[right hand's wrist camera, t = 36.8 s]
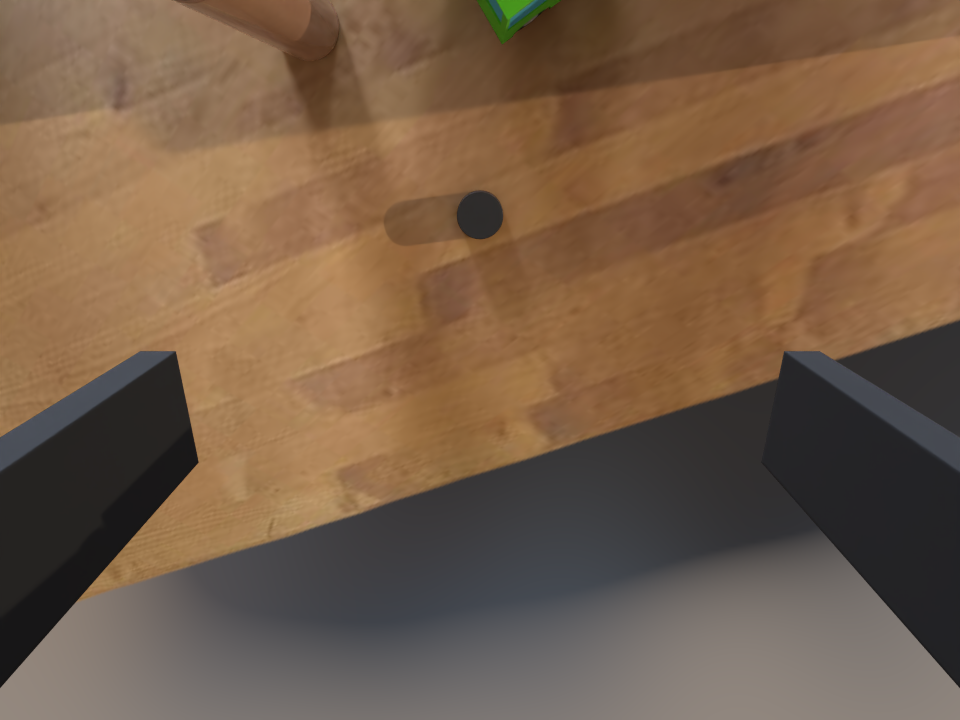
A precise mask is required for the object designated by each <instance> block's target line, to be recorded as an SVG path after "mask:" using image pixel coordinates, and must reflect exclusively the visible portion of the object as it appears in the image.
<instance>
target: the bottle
mask: <svg viewBox="0 0 960 720" xmlns="http://www.w3.org/2000/svg"><path fill="white" fill-rule="evenodd" d="M173 1H175V2H177V3H179V4H181V5H183V6H186V7H188V8H190V9H192V10H194V11H196V12H199V13H201V14H203V15H205V16H207V17H209V18H212V19H214V20H216V21H218V22H220V23H222V24H225V25H227V26H229V27H231V28H233V29H235V30H238V31H240V32H242V33H244V34H246V35H248V36H251V37H253V38H255V39H257V40H259V41H261V42H264V43H266V44H268V45H270V46H272V47H274V48H277V49H279V50H281V51H283V52H285V53H287V54H290V55H292V56H294V57H296V58H298V59H301V60H305V61H315V60H319V59H321V58H323V57H325V56H326V55H328V54H329V53H330V52H331V50H332V49H333V48H334V46H335V44H336V42H337V39H338V34H339V21H338V17H337V13H336V11H335V8H334V7H333V5H332V3H331V2H330V0H173Z"/></svg>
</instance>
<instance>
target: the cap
mask: <svg viewBox="0 0 960 720" xmlns="http://www.w3.org/2000/svg"><path fill="white" fill-rule="evenodd" d="M457 220H458V224H459V226H460V228H461V229H462V231H463V232H464V233H465V234H466V235H468V236H470V237H472V238H475V239H485V238H488V237H491V236H492V235H494V234H495V233H496V232H497V231H498V230H499V228H500V226H501V224H502V221H503V210H502V207H501V204H500V202H499V200H498V199H497V198H496V197H495V196H494V195H493V194H491V193H489V192H487V191H481V190H479V191H473V192H471V193H469V194H467V195H466V196H465V197H464V198H463V199H462V201H461V202H460V204H459V207H458V211H457Z"/></svg>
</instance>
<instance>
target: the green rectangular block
mask: <svg viewBox="0 0 960 720" xmlns="http://www.w3.org/2000/svg"><path fill="white" fill-rule="evenodd" d="M559 1H561V0H477V2H478V4H479V5H480V7H481V9H482V10H483V12H484V14H485V16H486V17H487V19H488V21H489V23H490V24H491V26H492V28H493V29H494V31H495V33H496V35H497V36H498V38H499V40H500V42H501V43H502V44H503V43H505V42H506V41H507V40H509V39H510V38H511V37H513V35H514V34H515V32H517V31H519V30H520V29H522V28H523V27H525V26H526V25H527V24H529V23H530V22H531V21H533V20H534V19H535V18H536V17H538V16H539V15H540V14H541V13H542V12H543V11H544V10H545V9H546V8H548V7H549V9H550V8H551V7H553V6H554V5H555V4H557V3H558V2H559Z"/></svg>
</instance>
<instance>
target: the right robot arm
mask: <svg viewBox="0 0 960 720" xmlns="http://www.w3.org/2000/svg"><path fill="white" fill-rule="evenodd" d="M197 464H198V457H197V452H196V447H195V442H194V438H193V433H192V428H191V423H190V418H189V413H188V408H187V404H186V399H185V394H184V389H183V384H182V379H181V374H180V369H179V365H178V360H177V355H176V351H140V352H138V353H137V354H135V355H134V356H132V357H130V358H129V359H127V360H125V361H124V362H122V363H121V364H119V365H117V366H116V367H114V368H112V369H111V370H109V371H108V372H106V373H104V374H103V375H101V376H99V377H98V378H96V379H95V380H93V381H91V382H90V383H88V384H86V385H85V386H83V387H82V388H80V389H78V390H77V391H75V392H73V393H72V394H70V395H69V396H67V397H65V398H64V399H62V400H60V401H59V402H57V403H56V404H54V405H52V406H51V407H49V408H47V409H46V410H44V411H43V412H41V413H39V414H38V415H36V416H34V417H33V418H31V419H30V420H28V421H26V422H25V423H23V424H21V425H20V426H18V427H16V428H15V429H13V430H12V431H10V432H8V433H7V434H5V435H3V436H2V437H0V688H1V686H2V685H3V684H4V683H5V682H6V681H7V680H8V678H9V677H10V676H11V675H12V674H13V673H14V672H15V671H16V669H17V668H18V667H19V666H20V665H21V664H22V663H23V661H24V660H25V659H26V658H27V657H28V656H29V655H30V653H31V652H32V651H33V650H34V649H35V648H36V647H37V645H38V644H39V643H40V642H41V641H42V640H43V639H44V638H45V636H46V635H47V634H48V633H49V632H50V631H51V630H52V628H53V627H54V626H55V625H56V624H57V623H58V622H59V620H60V619H61V618H62V617H63V616H64V615H65V614H66V613H67V611H68V610H69V609H70V608H71V607H72V606H73V605H74V603H75V602H76V601H77V600H78V599H79V598H80V597H81V595H82V594H83V593H84V592H85V591H86V590H87V589H88V588H89V586H90V585H91V584H92V583H93V582H94V581H95V580H96V578H97V577H98V576H99V575H100V574H101V573H102V572H103V570H104V569H105V568H106V567H107V566H108V565H109V564H110V563H111V561H112V560H113V559H114V558H115V557H116V556H117V555H118V553H119V552H120V551H121V550H122V549H123V548H124V547H125V545H126V544H127V543H128V542H129V541H130V540H131V539H132V538H133V536H134V535H135V534H136V533H137V532H138V531H139V530H140V528H141V527H142V526H143V525H144V524H145V523H146V522H147V520H148V519H149V518H150V517H151V516H152V515H153V514H154V512H155V511H156V510H157V509H158V508H159V507H160V506H161V505H162V503H163V502H164V501H165V500H166V499H167V498H168V497H169V495H170V494H171V493H172V492H173V491H174V490H175V489H176V487H177V486H178V485H179V484H180V483H181V482H182V481H183V480H184V478H185V477H186V476H187V475H188V474H189V473H190V472H191V470H192V469H193V468H194V467H195V466H196V465H197ZM762 464H763V465H764V466H765V467H766V468H767V469H768V470H769V472H770V473H771V474H772V475H773V476H774V477H775V478H776V480H777V481H778V482H779V483H780V484H781V485H782V486H783V487H784V489H785V490H786V491H787V492H788V493H789V494H790V495H791V497H792V498H793V499H794V500H795V501H796V502H797V503H798V505H799V506H800V507H801V508H802V509H803V510H804V511H805V512H806V514H807V515H808V516H809V517H810V518H811V519H812V520H813V522H814V523H815V524H816V525H817V526H818V527H819V528H820V530H821V531H822V532H823V533H824V534H825V535H826V536H827V537H828V539H829V540H830V541H831V542H832V543H833V544H834V545H835V547H836V548H837V549H838V550H839V551H840V552H841V553H842V555H843V556H844V557H845V558H846V559H847V560H848V561H849V562H850V564H851V565H852V566H853V567H854V568H855V569H856V570H857V572H858V573H859V574H860V575H861V576H862V577H863V578H864V580H865V581H866V582H867V583H868V584H869V585H870V586H871V587H872V589H873V590H874V591H875V592H876V593H877V594H878V595H879V597H880V598H881V599H882V600H883V601H884V602H885V603H886V605H887V606H888V607H889V608H890V609H891V610H892V611H893V613H894V614H895V615H896V616H897V617H898V618H899V619H900V620H901V622H902V623H903V624H904V625H905V626H906V627H907V628H908V630H909V631H910V632H911V633H912V634H913V635H914V636H915V638H916V639H917V640H918V641H919V642H920V643H921V644H922V646H923V647H924V648H925V649H926V650H927V651H928V652H929V653H930V655H931V656H932V657H933V658H934V659H935V660H936V661H937V663H938V664H939V665H940V666H941V667H942V668H943V669H944V670H945V672H946V673H947V674H948V675H949V676H950V677H951V678H952V680H953V681H954V682H955V683H956V684H957V685H958V686H959V688H960V437H958V436H956V435H955V434H953V433H952V432H950V431H948V430H947V429H945V428H944V427H942V426H940V425H939V424H937V423H935V422H934V421H932V420H930V419H929V418H927V417H926V416H924V415H922V414H921V413H919V412H917V411H916V410H914V409H913V408H911V407H909V406H908V405H906V404H904V403H903V402H901V401H900V400H898V399H896V398H895V397H893V396H891V395H890V394H888V393H887V392H885V391H883V390H882V389H880V388H878V387H877V386H875V385H874V384H872V383H870V382H869V381H867V380H865V379H864V378H862V377H861V376H859V375H857V374H856V373H854V372H852V371H851V370H849V369H847V368H846V367H844V366H843V365H841V364H839V363H838V362H836V361H835V360H833V359H831V358H830V357H828V356H826V355H825V354H823V353H822V352H820V351H784V355H783V360H782V365H781V369H780V374H779V379H778V384H777V389H776V394H775V399H774V404H773V408H772V413H771V418H770V423H769V428H768V433H767V438H766V442H765V447H764V452H763V457H762Z"/></svg>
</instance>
